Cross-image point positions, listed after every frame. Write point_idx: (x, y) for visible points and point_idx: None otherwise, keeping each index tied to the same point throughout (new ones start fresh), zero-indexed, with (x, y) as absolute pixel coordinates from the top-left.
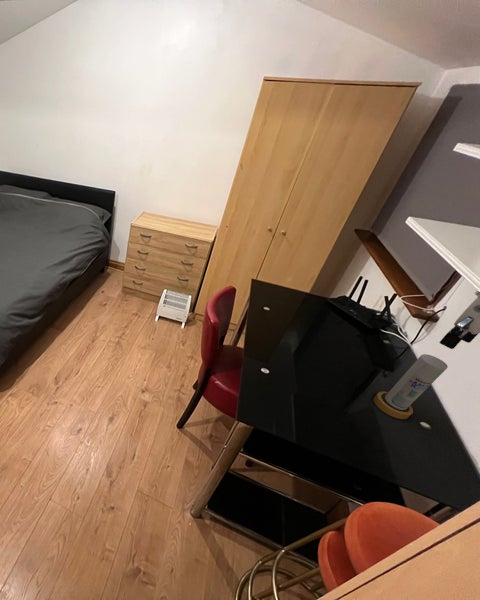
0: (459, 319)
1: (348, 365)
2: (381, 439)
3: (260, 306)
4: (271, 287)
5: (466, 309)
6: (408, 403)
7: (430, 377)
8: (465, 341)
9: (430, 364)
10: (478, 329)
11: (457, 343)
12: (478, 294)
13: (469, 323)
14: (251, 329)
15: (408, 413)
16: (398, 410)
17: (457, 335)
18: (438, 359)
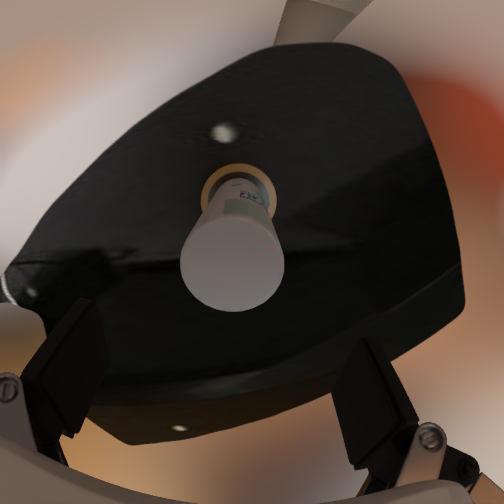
0: None
1: (180, 306)
2: (368, 175)
3: (185, 433)
4: (117, 434)
5: None
6: (253, 185)
7: (267, 217)
8: (100, 317)
9: (283, 268)
10: None
11: (397, 379)
12: None
13: None
14: (268, 417)
15: (250, 168)
16: (265, 186)
17: (450, 448)
18: (192, 263)
